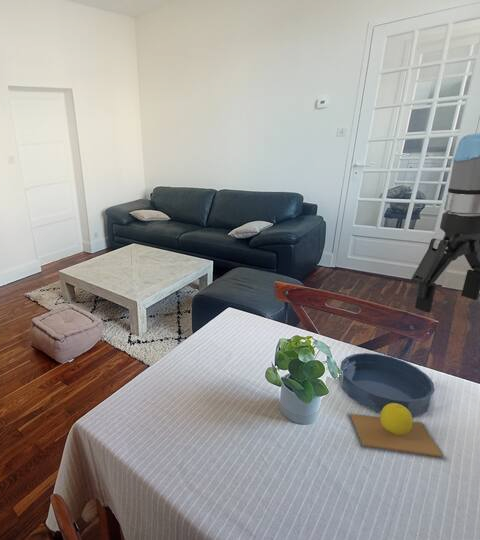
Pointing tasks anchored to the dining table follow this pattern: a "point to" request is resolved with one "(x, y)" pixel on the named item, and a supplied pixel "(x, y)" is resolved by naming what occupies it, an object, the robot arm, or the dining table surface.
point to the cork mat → (394, 437)
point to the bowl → (386, 383)
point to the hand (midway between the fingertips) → (446, 303)
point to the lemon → (396, 419)
